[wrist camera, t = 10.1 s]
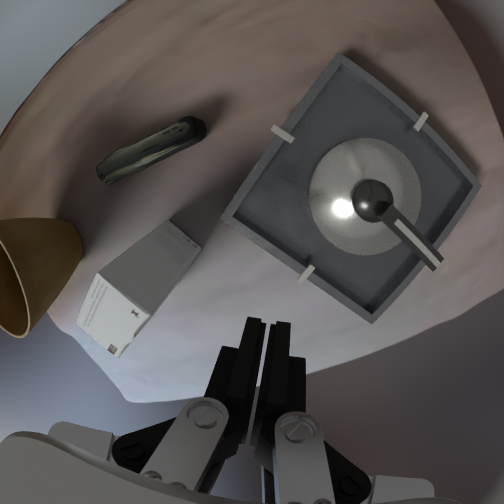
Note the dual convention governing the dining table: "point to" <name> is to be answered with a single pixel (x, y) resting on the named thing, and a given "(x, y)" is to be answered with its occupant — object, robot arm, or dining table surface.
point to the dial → (369, 200)
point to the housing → (300, 171)
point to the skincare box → (135, 286)
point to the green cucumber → (152, 149)
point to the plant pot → (34, 268)
